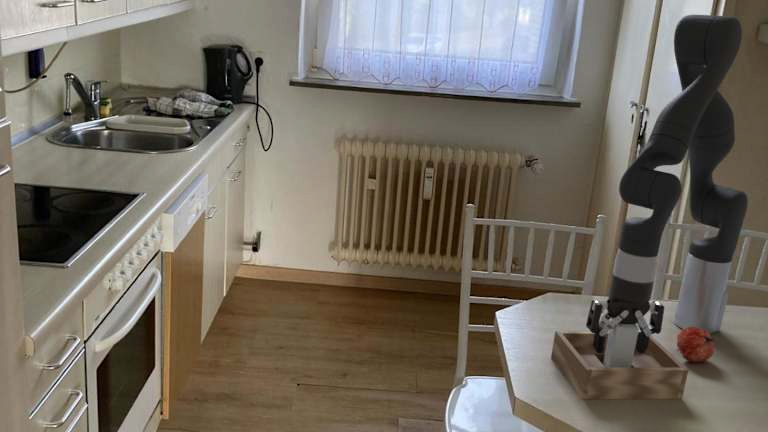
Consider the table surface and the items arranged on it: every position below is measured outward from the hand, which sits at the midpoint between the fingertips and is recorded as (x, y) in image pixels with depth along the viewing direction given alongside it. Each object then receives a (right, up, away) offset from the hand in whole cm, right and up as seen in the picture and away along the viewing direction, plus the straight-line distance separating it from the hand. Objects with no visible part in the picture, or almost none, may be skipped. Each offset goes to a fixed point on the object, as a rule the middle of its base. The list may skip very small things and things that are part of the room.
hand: (618, 351), depth 150 cm
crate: (0, -5, +2) cm, 6 cm away
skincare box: (0, -6, +2) cm, 6 cm away
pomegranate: (+19, -4, +13) cm, 23 cm away
